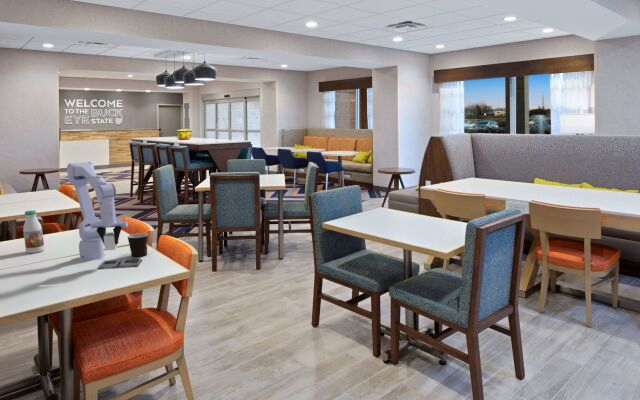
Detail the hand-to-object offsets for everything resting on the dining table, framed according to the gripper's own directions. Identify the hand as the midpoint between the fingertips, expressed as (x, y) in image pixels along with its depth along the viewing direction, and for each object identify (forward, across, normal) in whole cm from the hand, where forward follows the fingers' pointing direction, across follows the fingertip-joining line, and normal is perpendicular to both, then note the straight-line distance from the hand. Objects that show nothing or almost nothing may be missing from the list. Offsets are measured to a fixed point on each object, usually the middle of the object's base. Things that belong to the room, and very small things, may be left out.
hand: (111, 244), depth 197 cm
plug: (+2, 0, 0) cm, 2 cm away
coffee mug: (+10, +8, +14) cm, 19 cm away
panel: (+10, +3, 0) cm, 10 cm away
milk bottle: (+10, -45, +33) cm, 56 cm away
